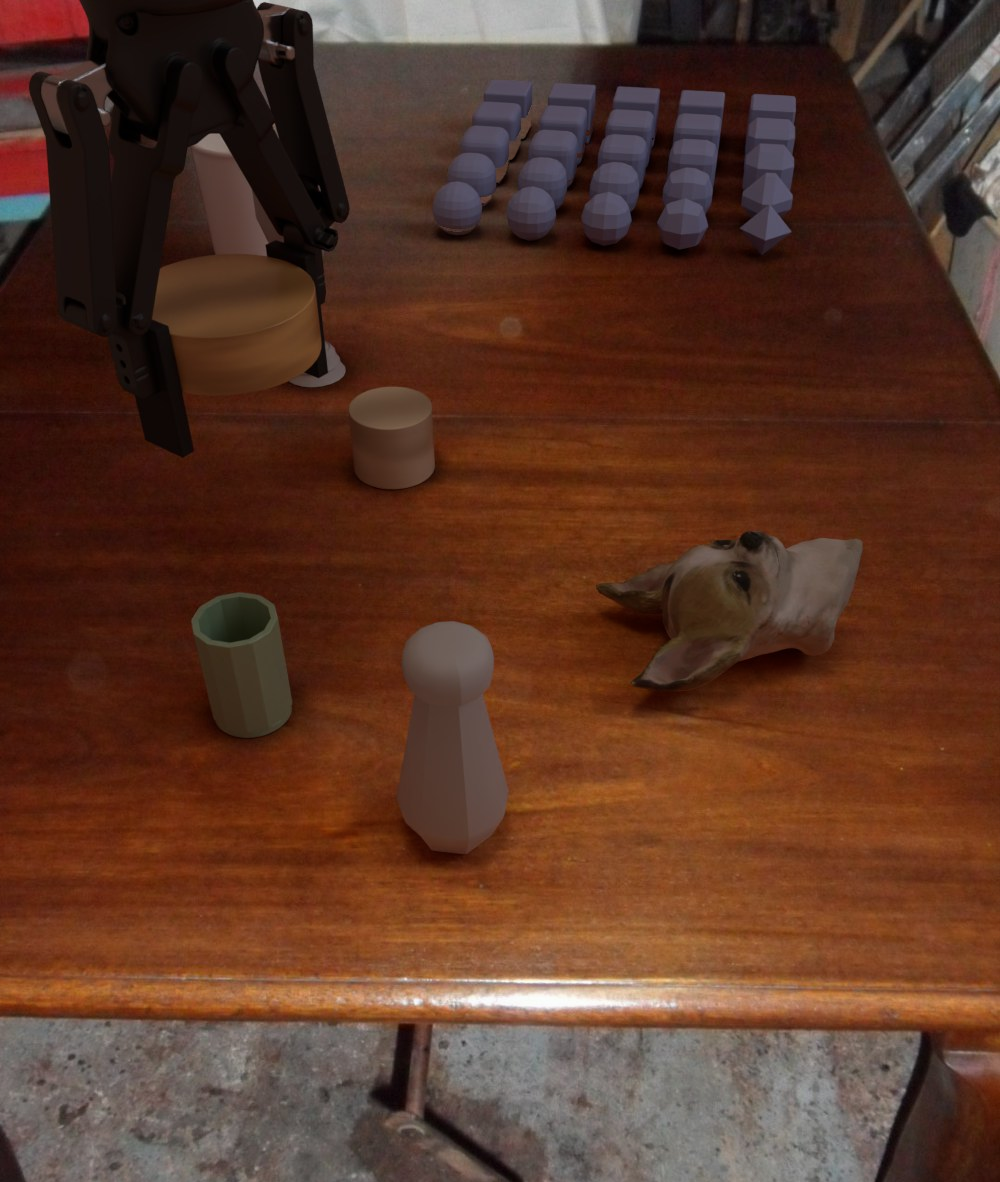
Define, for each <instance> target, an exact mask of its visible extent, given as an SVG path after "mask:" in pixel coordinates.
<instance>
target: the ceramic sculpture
mask: <svg viewBox="0 0 1000 1182" xmlns="http://www.w3.org/2000/svg"><path fill="white" fill-rule="evenodd" d="M863 551H864V548H863V541H862V540H861V539H859V538H851V539H837V538H828V537H819V538H816V539H812V540H805V541H801V542H798V543H796V544H793V545H791V546H789V547H785V546H784V544H783V542H782V541H781V540H779V539H778V538H777V537H776V536H773V535H768V534H767V533H766V532H764V531H760V530H754V531H751V530H748V531H744V532H743V533H742V534H741V535H740V536H739V538H737V540H736V539H715V540H712V541H711V542H709V544H707V545H704V544H698V545H695V546H692V547H690V548H688V549H687V550H686V551H685V552H684V553H683V554H681V555H680V556H679V557H677V559H675V560H673V561H671V562H668V563H659V564H656V565H655V566H653V567H650V568H648V569H647V570H646V571H645V572H644V573H638V574H636V575H633V576H632V577H630V578H629V579H627V580H624V581H623V582H602V583H597V584H595V590H597V592H598V593H599V594H601V595H602V596H604V597H606V598H608V599H610V600H611V601H613V602H615V603H616V604H618V605H619V606H622V607H624V608H626V609H628V610H630V611H633V612H634V613H637V614H639V615H646V616H647V615H648V616H649V615H662V622H663V625H664V628H665V631H666V634H667V636H668V637H669V640H668V641H667V642H665V643H664V644H663V645H661V646H660V647H659V648H658V649H657V650H656V652H655V653H654V654H653V656H652V658H651V660H650V661H649V663H647V665H646V667H644V670H643V671H642V672H641V673H640V674H639V675H638V676H636V677H635V678H633V679H632V680H631V681H630V686H631V687H632V688H636V689H643V690H651V691H658V692H689V691H690V692H691V691H693V690H697V689H700V688H703V687H704V686H706V685H708V684H710V683H712V682H713V681H715V680H716V679H717V678H719V677H720V676H721V675H722V674H724V673H725V672H726V671H728V670H729V669H730V668H731V667H733V666H734V665H736V664H737V663H739V662H742V661H745V660H749V659H752V658H756V657H758V656H763V655H766V654H771V653H775V652H779V651H783V650H786V649H797V650H799V651H800V652H801V653H803V654H804V655H807V656H811V657H817V656H821V655H823V654H825V653H826V652H827V651H828V650H830V648H831V647H832V645H833V643H834V641H835V629H836V626H837V622H838V619H839V617H840V616H841V615H842V613H843V611H844V610H845V609H846V607H847V606H848V604H849V602H850V598H851V595H852V594H853V593H852V592H853V590H854V588H855V581H856V578H857V575H858V572H859V567H860V562H861V561H860V560H861V557H862V553H863Z"/></svg>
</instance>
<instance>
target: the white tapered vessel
mask: <svg viewBox="0 0 1000 1182" xmlns="http://www.w3.org/2000/svg"><path fill="white" fill-rule="evenodd" d="M273 128H274V130H276V126H275V123H274V124H273ZM189 150H190V152H191V156H192V162H193V166H194V169H195V170H194V171H195V175H196V178H197V183H198V187H199V192H200V197H201V200H202V204H203V209H204V214H205V219H206V222H207V226H208V231H209V237H210V240H211V244H212V248H213V252H214V255H219V254H251V255H261V256H267V253H266V246H265V245H266V244H268V241H267V239H266V237H265V235H264V233H263V231H262V229H261V227H260V225H259V223H258V221H257V219H256V214H255V208H254V201H253V194H252V189H251V187H250V185H249V183H248V182H247V180H246V178H245V177H244V175H243V173H242V171H241V170H240V168H239V166H238V165H237V163H236V161H235V159H234V158H233V156H232V154H231V153H230V151H229V149H228V147H227V146H226V144H225V142H224V140H223V139H222V137H221V135H220V134H208V135H207V136H206V137H205V138H203V139H202V140H201V141H200V142H198V143H197V144H195V145H193V146H190V147H189Z"/></svg>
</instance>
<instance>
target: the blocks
mask: <svg viewBox="0 0 1000 1182" xmlns="http://www.w3.org/2000/svg"><path fill="white" fill-rule="evenodd" d="M596 88H597V86H596V85H595V84H584V83H583V84H582V83H568V82H567V83H566V82H565V83H564V82H554V83H553V85H552V87H551V89H550V91H549V93H548V95H547V106H545V107H544V109H543V111H542V112H541V115H540V117H539V118H538V119H539V120H538V128H537V130H538V131H537V132H536V133H534V135H533V137H532V139H531V140H530V144H529V145H528V149H527V150H528V151H527V152H528V154H527V156H528V157H527V162H525V163H524V165H523V166H522V167H521V168H520V171H519V174H518V179H517V191H516V192H515V193H513V195H512V196H511V198H510V199H509V201H508V203H507V206H506V220H507V225H508V227H509V229H510V230H511V232H512V234H514V235H515V236H517V237H518V238H519V239H521V240H524V241H525V240H526V241H529V242H530V241H531V242H532V241H537V240H540V239H542V238H543V237H546V236H547V235H548V234H549V233H550V232H551V230H552V229H553V227H554V225H555V222H556V217H557V212H556V211H557V210H558V209H559V208H560V207H561V206H562V205H563V203H564V202H565V199H566V196H567V191H568V187H570V186H571V185H572V184H573V182H574V179H575V176H576V174H577V170H576V169H578V165H579V164H581V162H582V160H583V157H584V155H585V152H586V147H587V144H589V143H590V141H591V138H592V135H593V133H594V129H595V123H594V124H593V126H592V129H591V132H590V135H589V136H586V130H590V128H591V124H592V121H593V118H594V119H595V112H596V111H595V110H596V92H597V91H596V90H597V89H596ZM660 98H661V89H660V88H656V87H655V88H653V87H638V86H636V87H635V86H621V85H620V86H617V88H616V91H615V94H614V97H613V100H612V111H610V113H609V116H608V118H607V121H606V125H605V131H604V132H605V133H604V134H605V135H604V138H603V139H602V140H601V144H600V147H599V151H598V153H597V166H596V167H597V168H596V170H595V171H594V172H593V175H592V178H591V180H590V184H589V200H588V201H587V202H586V203H585V204H584V208H583V210H582V213H581V215H580V218H581V219H580V220H581V224H582V229H583V232H584V234H585V236H586V237H587V238H588V239H589V240H590V241H591V243H594V244H597V245H600V246H602V247H606V246H610V245H615V244H617V243H618V242H619V241H621V240H622V238H624V237H625V236H626V235H627V234H628V233H629V230H630V227H631V223H632V220H633V219H632V216H631V215H632V214H631V212H633V210H634V209H636V205H637V202H638V200H639V195H640V189H641V188H642V187H643V183H644V180H645V176H646V170H647V169H646V168H647V167H648V166H649V162H650V158H651V154H652V148H653V147H654V144H655V140H656V136H657V131H658V119H659V109H660ZM725 99H726V93H725V92H724V91H709V90H690V89H684V90H683V89H682V90H681V93H680V99H679V102H678V109H677V110H678V112H677V118H676V120H675V125H674V129H673V138H672V147H671V148H670V152H669V156H668V164H667V174H666V181H665V184H664V186H663V189H662V197H661V201H662V205H663V207H664V208H663V210H662V212H661V213H660V216H659V218H658V220H657V222H656V224H657V227H658V230H659V234H660V236H661V239H662V242H663V243H664V244H665V245H667V246H669V247H672V248H675V249H676V250H678V251H679V250H685V249H688V248H692V247H696V246H698V245H699V244H700V242H701V241H702V238H703V237H704V235H705V233H706V232H707V229H708V228H709V223H708V220H707V217H706V214H707V212H708V211H709V209H710V207H711V205H712V200H713V195H714V194H713V193H714V186H715V178H716V170H717V164H718V155H719V149H720V142H721V141H720V140H721V134H722V133H721V131H722V125H723V117H724V116H723V115H724V110H725V109H724V108H725ZM531 105H532V106H533V82H532V81H531V80H530V81H529V80H528V81H527V80H511V79H494V78H493V79H490V81H489V83H488V85H487V86H486V88H485V90H484V92H483V101H481V102H480V103H479V104H478V106H477V108H476V109H475V111H474V112H473V114H472V117H471V126H470V127H468V128H467V129H466V131H464V134H463V136H462V138H461V139H460V141H459V154H457V156H455V158H454V159H453V160H452V161H451V162H450V164H449V166H448V169H447V175H446V184H444V185H443V186H442V187H440V189H438V190H437V191H436V193H435V196H434V198H433V204H432V215H433V219H434V221H435V223H436V222H437V223H436V224H437V225H438V224H439V225H440V226H442V227H446V228H450V229H466V228H470V227H473V226H475V225H476V224H477V223H478V224H479V222H480V220H481V219H482V212H483V207H485V206H487V204H489V203H490V202H491V201H492V199H491V200H490V201H488V202H486V203H481V199H480V198H481V197H487V196H489V195H492V194H493V193H494V191H495V192H496V189H497V184H496V170H495V168H500V167H503V166H504V165H505V164H506V162H507V160H508V157H509V141H515V140H516V138H517V136H518V134H519V132H520V130H521V118H526V116H527V115H528V112H529V110H530V107H531ZM796 112H797V98H796V97H795V95H779V94H766V93H765V94H763V93H753V94H752V95H751V98H750V105H749V113H748V121H747V128H746V134H745V146H744V159H743V160H744V161H743V176H742V187H741V188H742V190H743V191H742V196H741V202H740V206H741V207H742V209H743V210H744V211H745V212H746V214H747V215H748V216H749V218H750V219H749V220H748V221H747V222H745V223H744V224H743V225H741V227H739V229H740V231H741V232H742V234H743V235H745V237H746V238H747V239H748V240H749V242H750V243H751V245H753V247H754V248H755V249H756V250H757V252H758V253H759V254H760V256H763V255H764V254H766V253H767V252H768V251H770V250H771V249H772V248H773V247H775V246H776V245H777V244H778V243H780V242H781V241H783V239H785V238H786V237H788V236H789V235H790V234H791V233H792V232H793V231H792V230H791V229H790V228H789V226H788V225H787V224H786V222H785V221H784V220H783V219H782V217H783V216H784V215H786V214H787V213H788V212H790V210H791V209H792V206H793V200H794V195H793V193H792V192H791V188H792V183H793V176H794V169H795V157H794V156H793V152H794V148H795V141H796V126H795V120H796V114H797V113H796ZM656 127H657V128H656ZM655 131H656V132H655ZM652 138H654V139H653V140H652ZM585 141H586V146H585V149H584V152H583V155H582V157H581V158H577V153H578V154H579V153H582V151H583V148H584V144H585ZM575 172H576V173H575ZM574 175H575V176H574ZM573 178H574V179H573ZM571 179H573V180H572V181H571V182H568V183H567V181H568V180H571ZM497 183H498V184H500V183H501V182H497ZM495 188H496V189H495ZM494 194H495V193H494ZM478 224H477V225H478ZM440 229H441V230H442V231H444V232H445V233H447V234H448V235H453V236H464V235H467V234H469V233H470V232H472V231H473V230H474V229H475V228H473V229H471V230H468V231H462V232H453V231H447V230H444V229H442V228H440Z"/></svg>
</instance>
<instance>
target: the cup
mask: <svg viewBox="0 0 1000 1182" xmlns="http://www.w3.org/2000/svg"><path fill="white" fill-rule="evenodd" d="M190 623H191V629H192V634H193V639H194V643H195V647H196V651H197V655H198V659H199V664H200V668H201V672H202V676H203V680H204V681H203V682H204V685H205V688H206V692H207V697H208V701H209V705H210V710H211V714H212V718H213V720H214V723H215V725H216V726H217V728H219V729H220V730H221V731H223V732H224V733H225V734H227V735H229V736H232V737H235V738H241V739H251V738H253V739H254V738H260V737H263V736H266V735H270V734H271V733H274V732H275V731H277V730H279V729H280V728H281V727H282V726H283V725H285V724H286V723H287V721H289V719H290V717H291V714H292V712H293V698H292V691H291V687H290V679H289V675H288V674H289V673H288V668H287V662H286V656H285V650H284V645H283V640H282V634H281V628H280V627H281V626H280V621H279V616H278V613H277V608H276V605H275V604H274V603H272V602H271V601H269V600H268V599H267V598H265V597H264V596H262V595H260V594H256V593H255V594H254V593H249V592H242V591H239V592H233V593H227V594H222V595H217V596H215V597H213V598H212V599H210V600H208V601H207V602H204V603H203V604H202V605H200V606H199V607H198V609H197V610H196V611H195V613H194V615H193V616H192V618H191V619H190Z"/></svg>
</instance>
